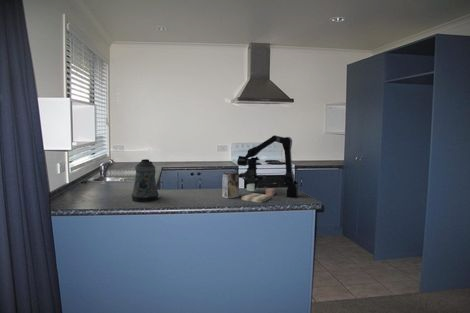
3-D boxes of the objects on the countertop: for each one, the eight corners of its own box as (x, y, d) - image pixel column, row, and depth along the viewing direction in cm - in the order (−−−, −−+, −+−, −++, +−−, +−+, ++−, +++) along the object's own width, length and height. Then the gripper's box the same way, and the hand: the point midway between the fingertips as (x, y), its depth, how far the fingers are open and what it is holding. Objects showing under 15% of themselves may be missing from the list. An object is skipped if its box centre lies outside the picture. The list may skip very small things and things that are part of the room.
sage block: (257, 189, 237) (257, 184, 236) (253, 191, 232) (253, 185, 231) (250, 188, 239) (250, 183, 239) (246, 190, 234) (246, 184, 234)
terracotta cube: (274, 194, 232) (274, 188, 231) (271, 195, 228) (271, 190, 227) (268, 193, 234) (268, 188, 233) (265, 195, 230) (265, 189, 230)
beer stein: (131, 202, 204) (130, 161, 201) (132, 195, 222) (131, 158, 220) (159, 201, 208) (158, 161, 205) (157, 194, 227) (157, 157, 224)
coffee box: (233, 195, 228) (233, 171, 226) (238, 197, 223) (239, 172, 221) (221, 196, 222) (222, 172, 221) (227, 198, 217) (227, 174, 215)
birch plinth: (270, 198, 220) (270, 195, 219) (261, 202, 208) (261, 199, 208) (251, 195, 227) (251, 192, 227) (241, 199, 215) (241, 196, 215)
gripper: (234, 166, 232) (234, 189, 233) (259, 168, 222) (258, 192, 224) (242, 164, 241) (242, 186, 243) (266, 166, 232) (266, 189, 233)
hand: (251, 188), depth 235 cm, fingers closed on sage block, 5 cm apart
